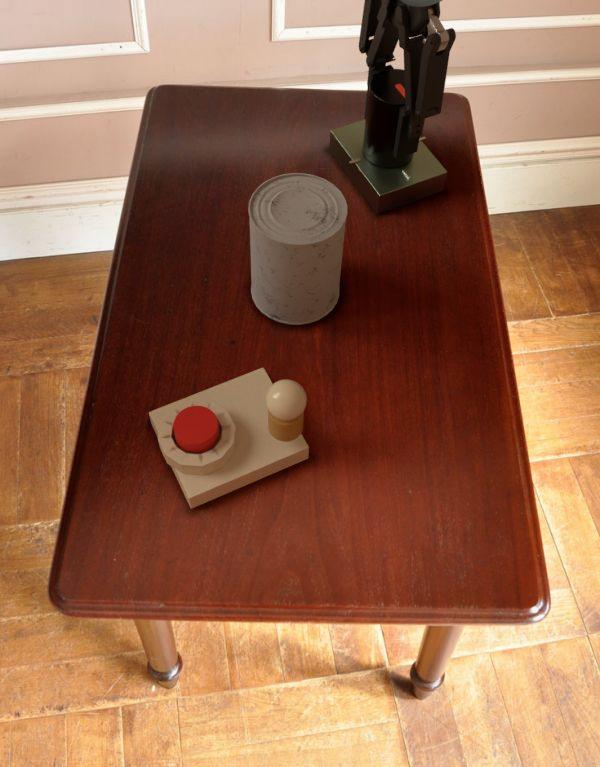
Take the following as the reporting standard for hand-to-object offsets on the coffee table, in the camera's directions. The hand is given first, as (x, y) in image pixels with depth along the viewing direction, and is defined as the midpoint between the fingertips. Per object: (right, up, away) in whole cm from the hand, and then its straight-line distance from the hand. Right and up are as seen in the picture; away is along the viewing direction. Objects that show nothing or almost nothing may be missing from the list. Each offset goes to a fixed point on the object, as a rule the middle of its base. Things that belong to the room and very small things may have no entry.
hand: (390, 134), depth 99 cm
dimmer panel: (0, -3, +5) cm, 5 cm away
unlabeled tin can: (-11, -19, -6) cm, 22 cm away
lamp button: (-20, -33, -20) cm, 44 cm away
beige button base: (-17, -34, -16) cm, 42 cm away
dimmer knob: (0, -1, +2) cm, 2 cm away
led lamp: (-12, -33, -20) cm, 40 cm away
